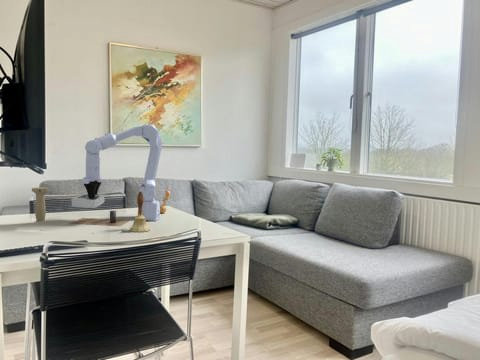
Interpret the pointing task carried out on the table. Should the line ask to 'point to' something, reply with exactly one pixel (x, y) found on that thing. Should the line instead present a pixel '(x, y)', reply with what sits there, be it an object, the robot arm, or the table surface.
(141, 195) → the hand bell
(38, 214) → the handle
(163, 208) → the figurine
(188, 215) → the table surface
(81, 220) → the brown board
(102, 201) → the grey square frame
